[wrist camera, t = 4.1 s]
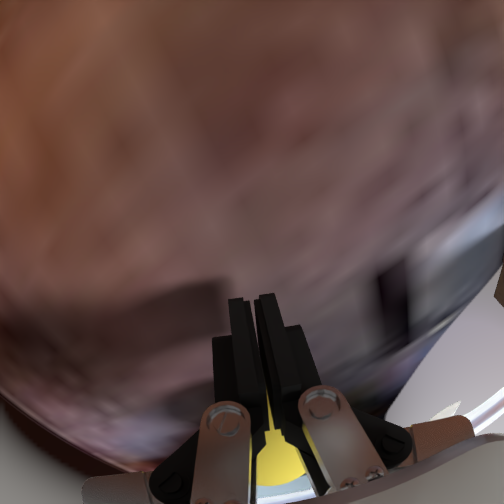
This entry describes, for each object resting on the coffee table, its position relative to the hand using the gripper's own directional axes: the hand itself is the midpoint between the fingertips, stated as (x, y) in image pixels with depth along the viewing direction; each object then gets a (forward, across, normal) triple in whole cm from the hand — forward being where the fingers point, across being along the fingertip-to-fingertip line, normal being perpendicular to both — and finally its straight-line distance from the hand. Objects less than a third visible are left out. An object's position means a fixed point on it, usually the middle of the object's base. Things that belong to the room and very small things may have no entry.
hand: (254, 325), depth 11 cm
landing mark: (+2, 0, +38) cm, 38 cm away
